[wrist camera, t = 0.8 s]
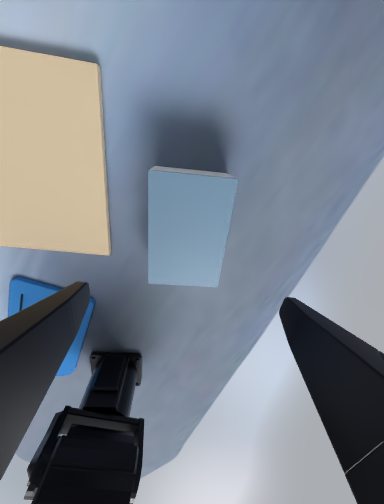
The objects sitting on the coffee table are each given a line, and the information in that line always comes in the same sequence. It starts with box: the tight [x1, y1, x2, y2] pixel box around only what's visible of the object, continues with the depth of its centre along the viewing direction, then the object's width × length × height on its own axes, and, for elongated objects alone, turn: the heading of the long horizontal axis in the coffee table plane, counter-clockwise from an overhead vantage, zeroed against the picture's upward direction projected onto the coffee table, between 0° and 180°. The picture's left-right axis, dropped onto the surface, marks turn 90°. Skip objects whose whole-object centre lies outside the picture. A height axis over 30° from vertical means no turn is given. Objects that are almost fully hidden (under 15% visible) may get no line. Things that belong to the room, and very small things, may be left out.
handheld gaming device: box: [8, 277, 95, 376], centre depth 24 cm, size 8×1×15 cm
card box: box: [148, 166, 238, 287], centre depth 17 cm, size 9×6×4 cm, turn 174°
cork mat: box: [0, 46, 111, 256], centre depth 16 cm, size 14×12×1 cm
